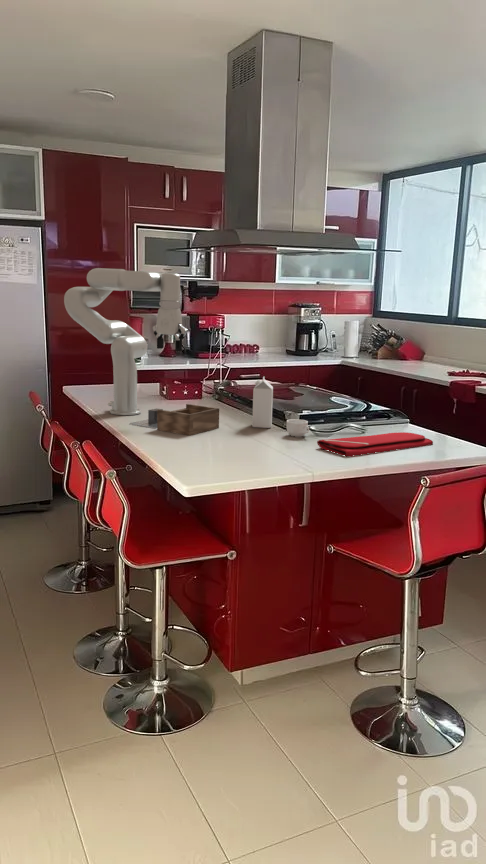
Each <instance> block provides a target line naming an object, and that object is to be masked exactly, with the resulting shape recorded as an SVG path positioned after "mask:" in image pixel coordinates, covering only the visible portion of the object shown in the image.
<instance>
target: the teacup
mask: <svg viewBox="0 0 486 864" xmlns="http://www.w3.org/2000/svg"><path fill="white" fill-rule="evenodd" d="M308 424H309V421H308V420H305V419H300V418H299V419H297V418H296V419H294V418H291V419H287V420H286V432H287V434H288V435H289V436H290V435H291V437H293V436H295V437H294V438H302V437H304V436H305V435H306V434H308V433H309V431H310V427H309V425H308Z"/></svg>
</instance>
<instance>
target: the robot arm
mask: <svg viewBox="0 0 486 864" xmlns="http://www.w3.org/2000/svg"><path fill="white" fill-rule="evenodd" d="M86 282H87V284H88V285H89V286H74V287H71V288H69V289H68V290H66V292H65V293H64V296H63V303H64V304H63V305H64V307H65V310H66V312H67V314H68V315H69V316H70V318H71V319H72V320H73V321H74V322H76V323H77V324H79V325H80V326H81V327H82V328H84V329H85V330H86V331H87V332H88V333H89V334H91V335H92V336H93V337H95V338H96V339H97V341H99V342H100V343H102V344H104V345H105V344H106V345H110V344H111V346H110V354H111V359H112V366H113V367H112V371H113V400H111V401H109V402H108V403H107V405H108V406H109V407H111V409H110V410H109V413H110V414H111V415H115V416H135V415H140V414H141V412H142V410H141V409H140V408H138V369H137V368H138V367H137V364H136V360H135V359H138V358H141V357H143V356H145V355H146V354H147V352H148V342H147V341H146V339H145V338H144V336H142V335H141V334H140V333H138V332H137V331H136V330H135V329H134V328H132V327H131V325H129V324H127V323H125V322H124V321H122V320H118V319H117V320H116V319H114V320H110V319H107V318H105V317H103V316H102V315H101V314H100V313H99V312H98V311H96V310H94V309H93V308H95V307H98V306H99V305H101V304H102V303H103V301H105V300H106V299H107V298H108V296H109V295H110V294H111V293H112V292H113V291H117V292H118V291H119V292H124V291H135V292H154V293H155V292H158V293H159V292H160V299H159V300H160V301H159V302H158V303H159V304H158V305H159V306H160V308H158V311H157V316H156V324H155V325H153V326H152V331H153V334H154V335H155V338H156V349H157V350H158V349H164V342H165V340H164V338H163V337H164V336H174V337H175V341H174V342H175V344H174V345H175V351H176V352H177V351H182V350H183V341H184V340H185V337H186V336H187V333H188V328H186V327H185V326H184V325H183V318H182V316H183V315H182V311H181V309H180V308H181V307H180V305H181V303H180V302H181V275H180V274H179V273H174V272H163V273H162V272H158V271H143V270H141V271H140V270H139V271H138V270H126V269H124V268H103V267H102V268H101V267H96V268H92V269H91V270H89V271H88V272H87V274H86Z"/></svg>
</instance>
